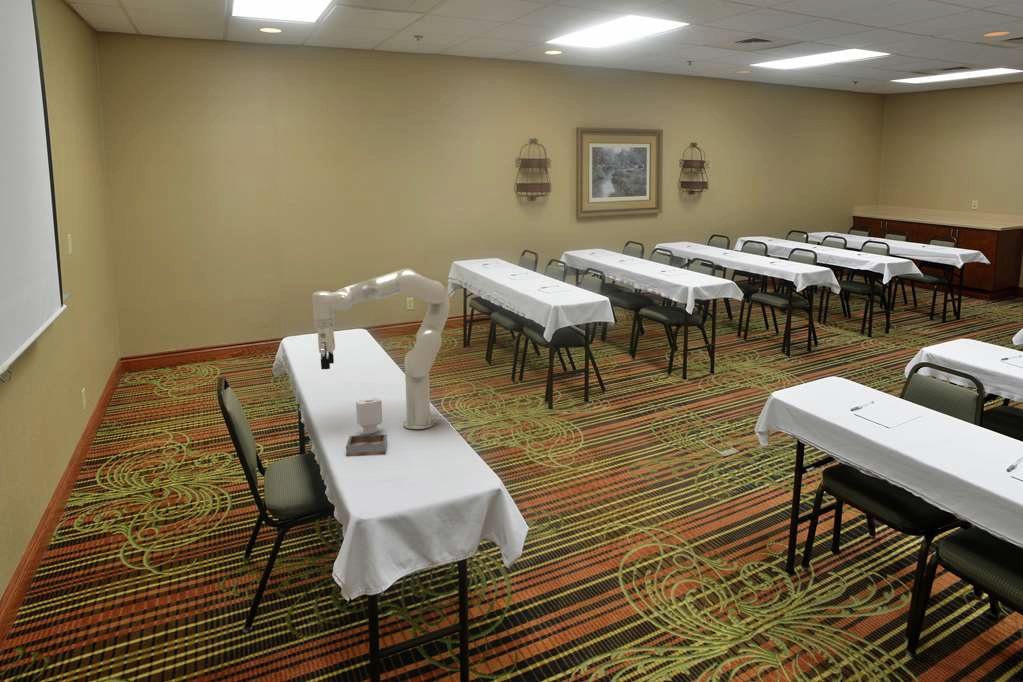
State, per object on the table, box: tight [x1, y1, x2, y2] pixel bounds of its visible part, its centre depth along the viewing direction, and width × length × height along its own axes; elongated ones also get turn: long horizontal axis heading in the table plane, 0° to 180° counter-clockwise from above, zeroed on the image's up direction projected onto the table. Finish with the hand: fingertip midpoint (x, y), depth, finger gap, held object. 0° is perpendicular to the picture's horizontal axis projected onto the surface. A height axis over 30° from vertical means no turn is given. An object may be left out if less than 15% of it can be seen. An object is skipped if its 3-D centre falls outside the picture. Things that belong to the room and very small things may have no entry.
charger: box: [355, 397, 383, 435], centre depth 261 cm, size 5×9×15 cm, turn 123°
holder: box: [345, 433, 388, 457], centre depth 248 cm, size 14×12×4 cm
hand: (327, 366), depth 259 cm, fingers open, 9 cm apart
